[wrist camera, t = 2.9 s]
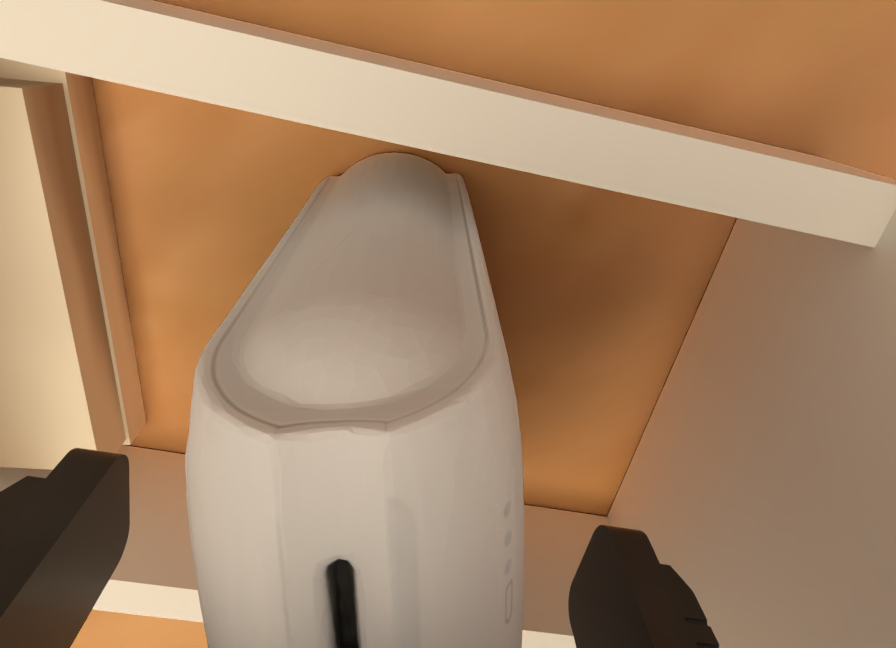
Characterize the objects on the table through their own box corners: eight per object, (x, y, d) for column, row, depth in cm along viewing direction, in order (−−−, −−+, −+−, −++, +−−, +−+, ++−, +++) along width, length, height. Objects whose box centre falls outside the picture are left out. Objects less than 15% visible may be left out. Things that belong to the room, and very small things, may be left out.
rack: (820, 157, 16) (1341, 313, 7) (634, 546, 22) (779, 903, 13) (-117, -63, 13) (-1324, -289, 4) (-32, 451, 19) (-444, 819, 10)
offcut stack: (96, 53, 15) (20, 56, 12) (151, 416, 19) (105, 478, 17) (-118, 33, 14) (-246, 32, 12) (-9, 407, 19) (-82, 468, 16)
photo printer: (474, 461, 20) (531, 995, 9) (347, 465, 20) (241, 1009, 9) (476, 148, 15) (599, 427, 4) (312, 151, 15) (3, 445, 4)
